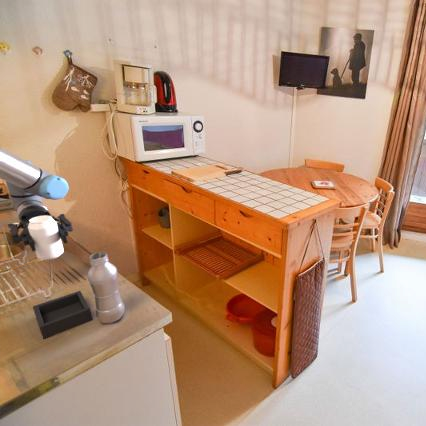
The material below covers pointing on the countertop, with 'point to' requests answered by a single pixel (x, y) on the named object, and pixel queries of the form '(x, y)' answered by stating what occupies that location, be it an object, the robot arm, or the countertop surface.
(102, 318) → the plastic bottle
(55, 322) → the black tray
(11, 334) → the countertop surface
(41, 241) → the beverage can
